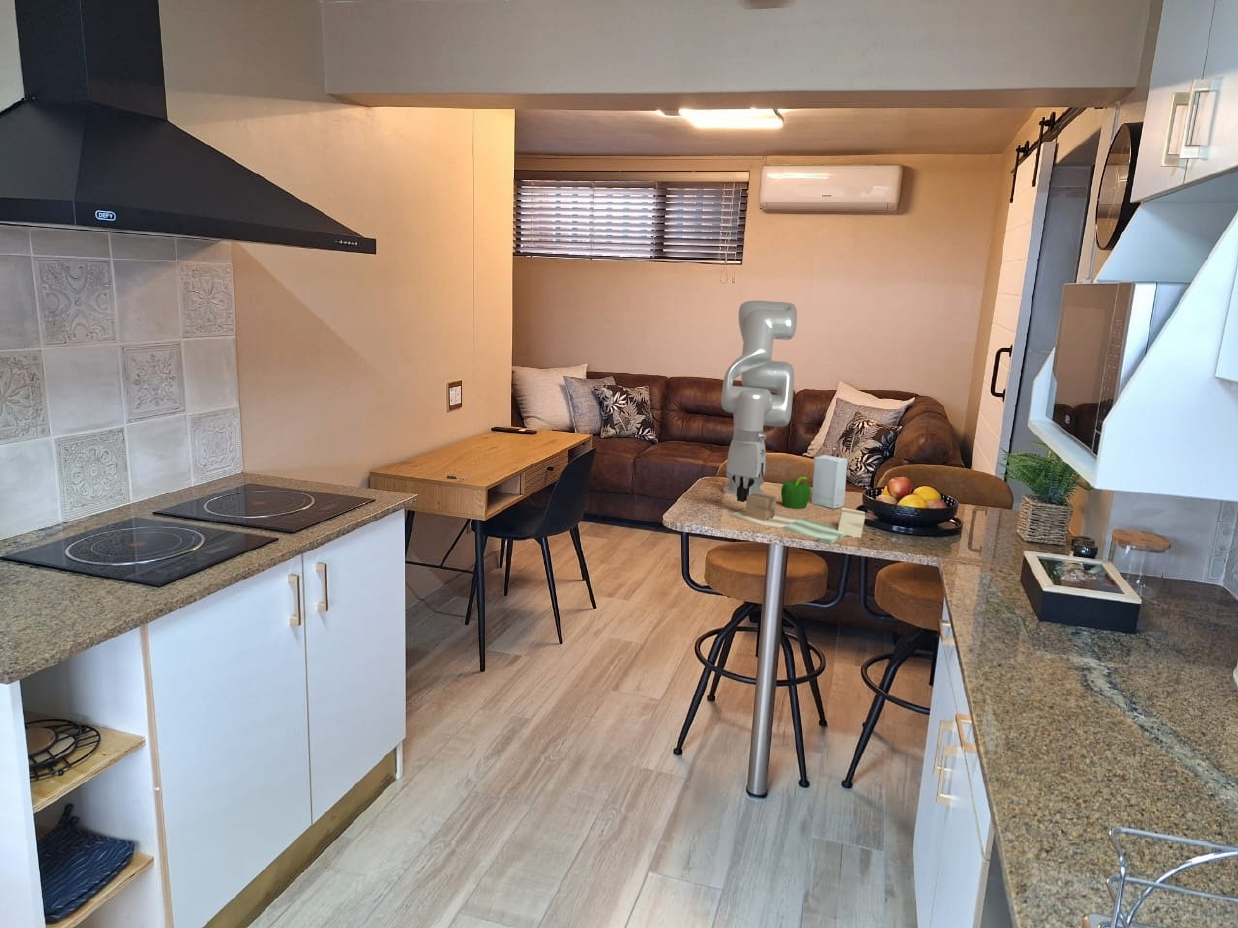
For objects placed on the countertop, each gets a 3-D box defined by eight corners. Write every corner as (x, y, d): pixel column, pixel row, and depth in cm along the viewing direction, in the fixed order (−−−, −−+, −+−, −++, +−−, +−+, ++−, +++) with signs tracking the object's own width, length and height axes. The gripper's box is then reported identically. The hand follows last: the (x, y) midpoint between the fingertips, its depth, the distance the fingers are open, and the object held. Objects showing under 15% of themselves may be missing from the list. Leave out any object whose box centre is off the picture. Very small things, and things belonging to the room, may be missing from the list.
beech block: (837, 528, 222) (841, 507, 220) (860, 533, 220) (864, 511, 219) (837, 534, 216) (841, 512, 215) (860, 538, 214) (865, 517, 213)
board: (748, 510, 235) (748, 506, 235) (849, 533, 218) (850, 529, 218) (725, 519, 224) (726, 516, 224) (830, 544, 207) (830, 540, 207)
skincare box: (844, 506, 246) (850, 458, 243) (833, 509, 242) (839, 460, 239) (820, 500, 252) (825, 453, 249) (809, 503, 248) (814, 455, 245)
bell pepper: (775, 509, 238) (779, 476, 235) (784, 504, 245) (787, 471, 243) (804, 515, 234) (808, 481, 232) (811, 509, 241) (815, 476, 239)
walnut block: (754, 512, 229) (756, 491, 228) (774, 517, 226) (776, 496, 224) (744, 516, 224) (747, 495, 223) (764, 521, 221) (767, 499, 220)
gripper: (779, 438, 222) (772, 503, 226) (730, 430, 231) (724, 493, 234) (767, 441, 216) (760, 508, 220) (717, 433, 225) (712, 497, 228)
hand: (742, 500), depth 227 cm, fingers closed
